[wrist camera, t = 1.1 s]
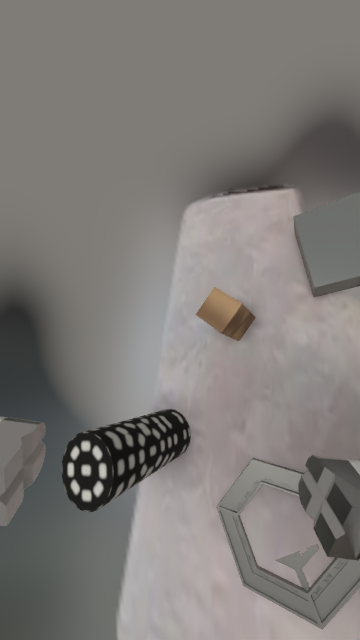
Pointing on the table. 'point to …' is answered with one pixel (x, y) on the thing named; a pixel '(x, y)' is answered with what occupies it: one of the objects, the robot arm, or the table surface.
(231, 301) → the oak block
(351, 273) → the block
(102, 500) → the spotted tube
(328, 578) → the grey hexagonal ring
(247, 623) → the table surface
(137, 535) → the table surface
